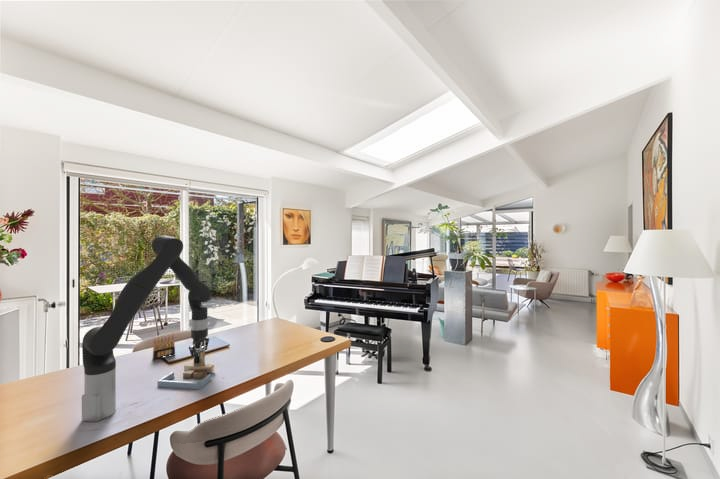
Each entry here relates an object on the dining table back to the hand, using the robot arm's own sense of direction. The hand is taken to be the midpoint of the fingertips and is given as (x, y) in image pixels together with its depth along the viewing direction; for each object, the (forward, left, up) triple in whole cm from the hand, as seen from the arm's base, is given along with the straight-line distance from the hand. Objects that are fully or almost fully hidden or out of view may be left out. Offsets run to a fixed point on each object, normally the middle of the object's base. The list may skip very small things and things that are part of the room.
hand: (199, 361), depth 157 cm
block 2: (-4, -3, -6) cm, 8 cm away
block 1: (-4, +2, -6) cm, 7 cm away
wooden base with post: (0, 0, -5) cm, 5 cm away
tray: (-11, 0, -5) cm, 13 cm away
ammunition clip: (+15, +31, -6) cm, 35 cm away
